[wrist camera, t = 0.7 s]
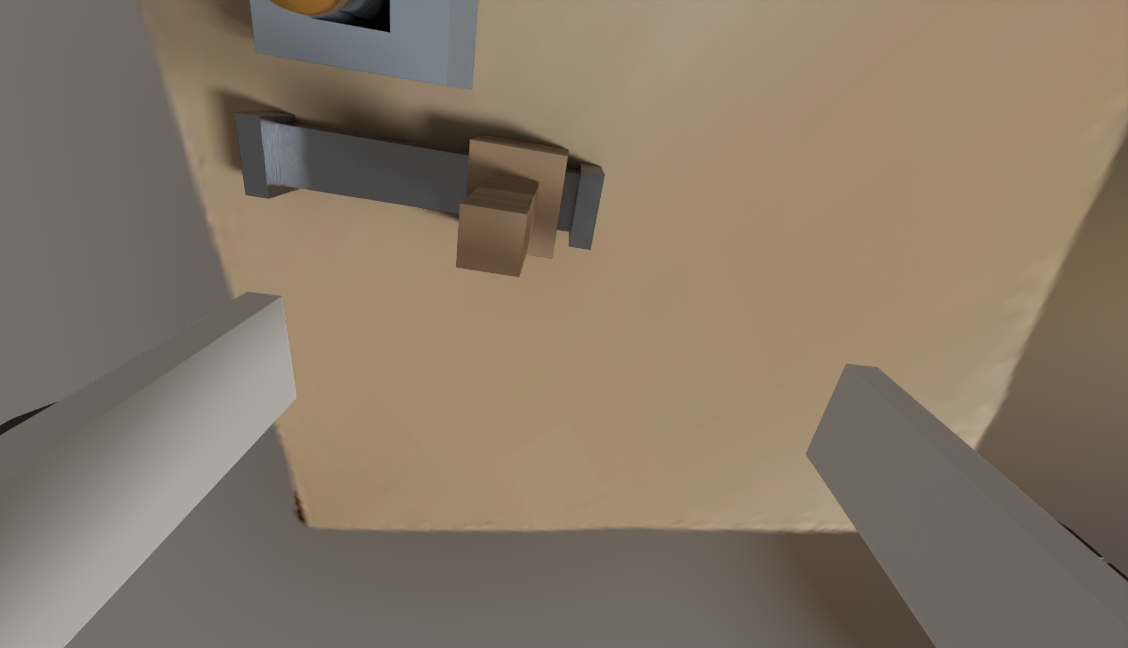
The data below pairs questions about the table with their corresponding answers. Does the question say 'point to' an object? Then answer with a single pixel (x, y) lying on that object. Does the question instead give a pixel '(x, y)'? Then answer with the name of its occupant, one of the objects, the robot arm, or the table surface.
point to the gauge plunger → (341, 8)
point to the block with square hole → (377, 39)
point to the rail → (383, 170)
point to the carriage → (509, 204)
